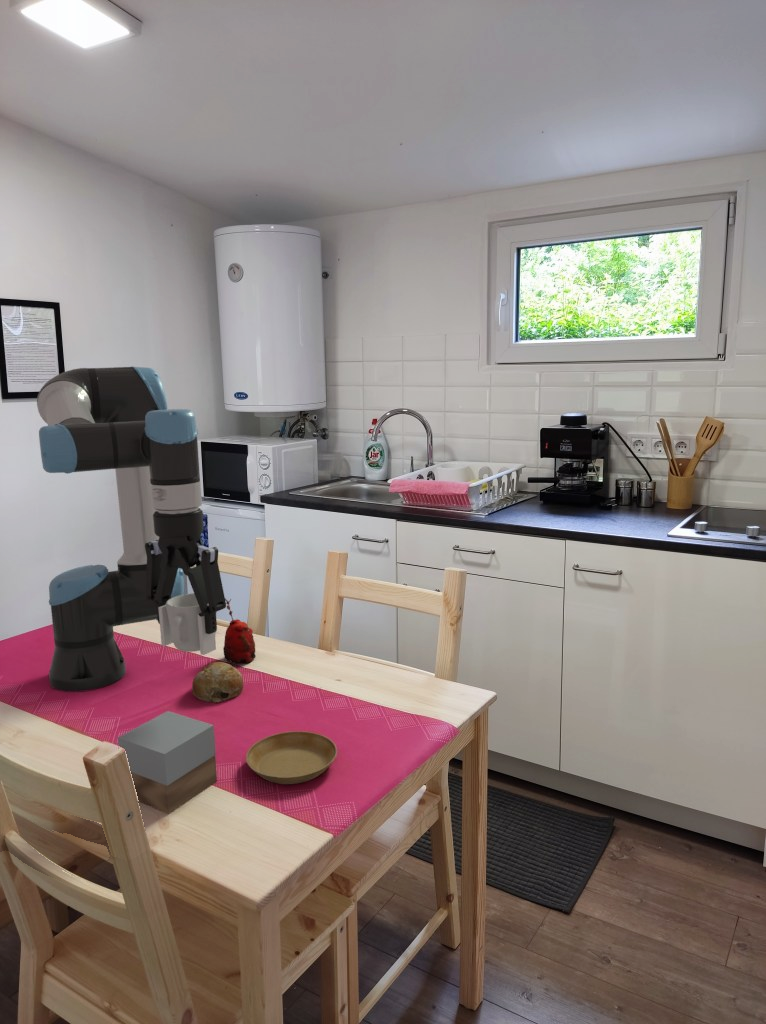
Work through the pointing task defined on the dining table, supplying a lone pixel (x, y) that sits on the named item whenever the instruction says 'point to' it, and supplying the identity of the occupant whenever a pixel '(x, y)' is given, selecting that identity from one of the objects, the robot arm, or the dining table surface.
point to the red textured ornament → (238, 641)
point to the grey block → (168, 746)
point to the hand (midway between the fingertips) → (188, 647)
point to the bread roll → (217, 682)
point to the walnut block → (175, 787)
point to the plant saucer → (291, 756)
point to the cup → (184, 622)
